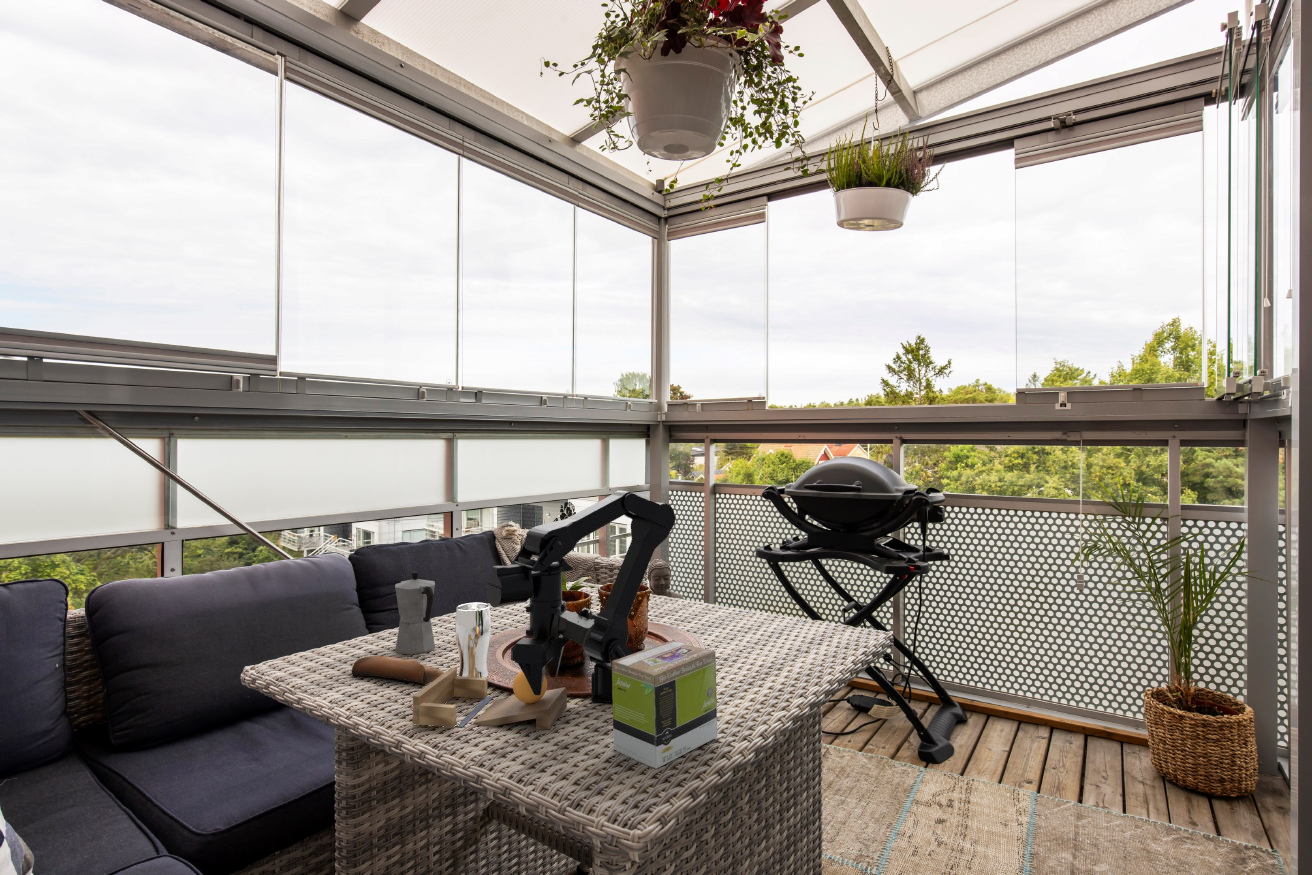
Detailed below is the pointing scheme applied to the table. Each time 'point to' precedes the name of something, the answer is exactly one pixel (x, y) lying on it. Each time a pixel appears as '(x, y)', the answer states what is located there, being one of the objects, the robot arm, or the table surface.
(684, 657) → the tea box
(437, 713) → the wooden u-shaped bracket
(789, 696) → the table surface
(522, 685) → the ball
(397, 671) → the sunglasses case
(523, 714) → the ramp
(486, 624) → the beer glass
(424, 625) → the coffeepot
